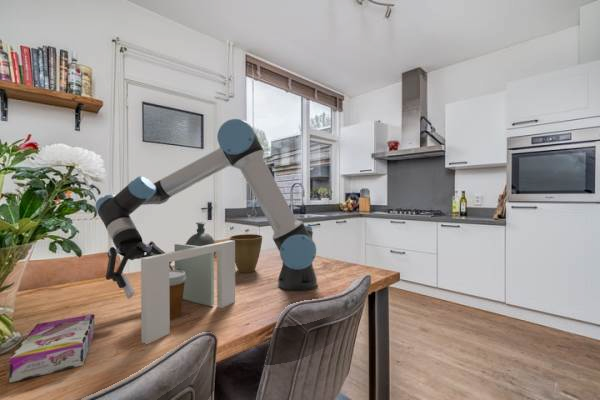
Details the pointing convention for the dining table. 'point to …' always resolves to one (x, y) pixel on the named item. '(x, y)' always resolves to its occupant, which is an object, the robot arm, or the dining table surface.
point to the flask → (200, 237)
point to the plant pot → (247, 251)
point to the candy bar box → (52, 348)
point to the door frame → (157, 285)
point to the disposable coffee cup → (176, 291)
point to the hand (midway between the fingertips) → (154, 288)
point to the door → (197, 276)
